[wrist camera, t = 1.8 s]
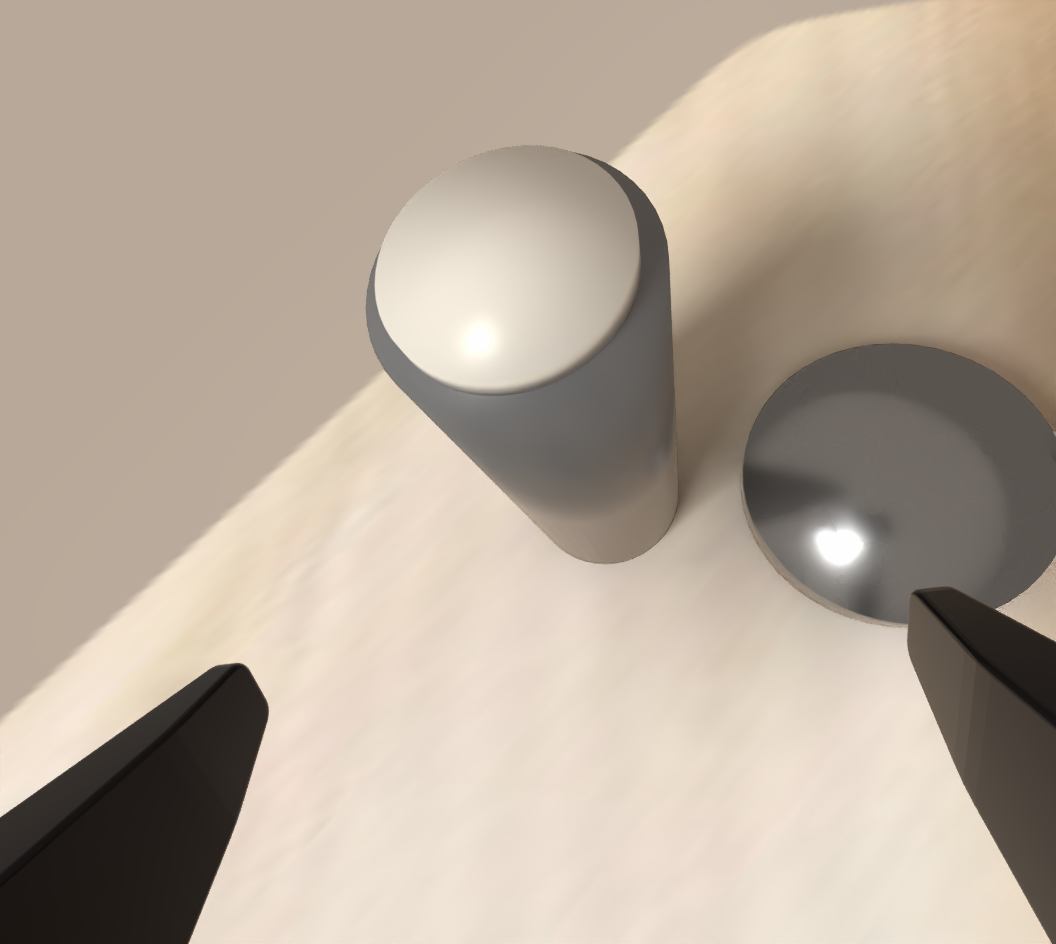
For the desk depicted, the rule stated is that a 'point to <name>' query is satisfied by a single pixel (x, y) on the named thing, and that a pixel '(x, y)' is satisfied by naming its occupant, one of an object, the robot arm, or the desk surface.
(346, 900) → the desk surface
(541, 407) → the dark gray cylinder
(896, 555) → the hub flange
